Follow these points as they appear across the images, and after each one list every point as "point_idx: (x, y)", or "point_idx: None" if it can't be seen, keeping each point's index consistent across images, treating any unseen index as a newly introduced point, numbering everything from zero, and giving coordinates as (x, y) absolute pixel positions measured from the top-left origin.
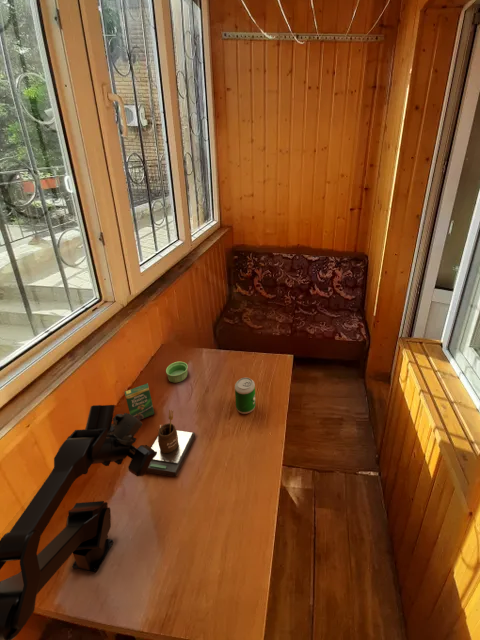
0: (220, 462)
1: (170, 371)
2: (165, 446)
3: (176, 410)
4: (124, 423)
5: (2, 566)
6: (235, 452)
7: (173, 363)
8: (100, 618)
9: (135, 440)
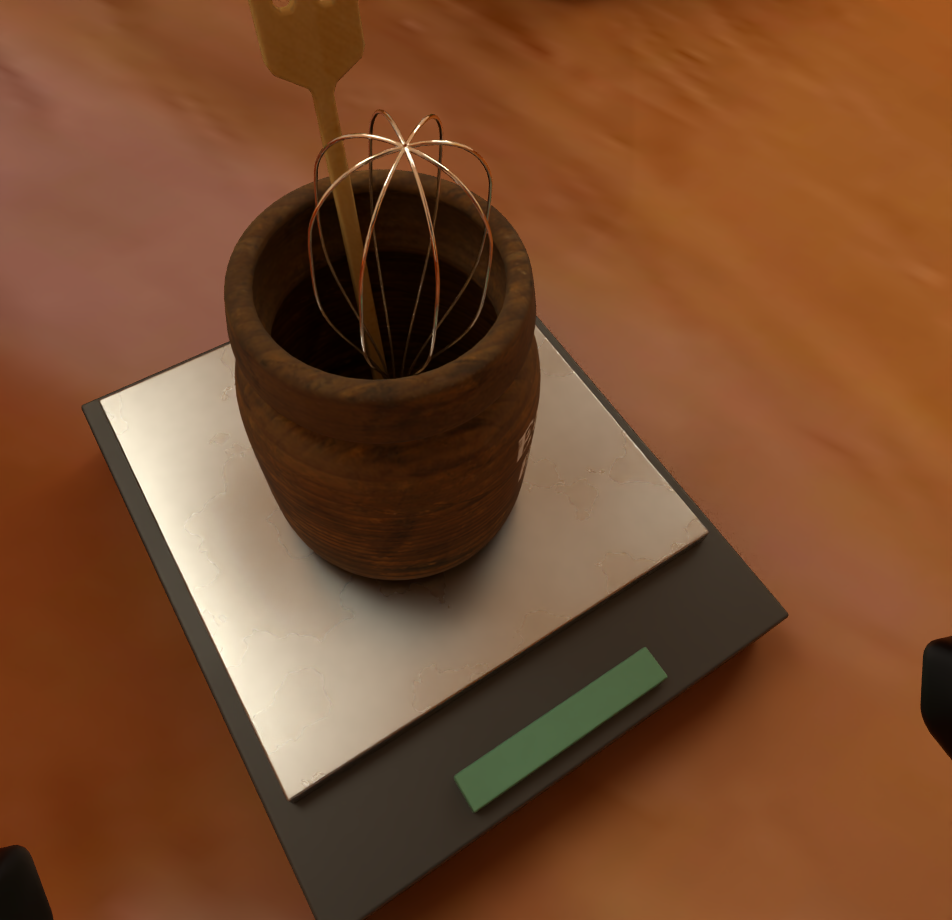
0: (884, 292)
1: None
2: (498, 489)
3: (13, 229)
4: None
5: None
6: (871, 182)
7: None
8: None
9: (35, 895)
